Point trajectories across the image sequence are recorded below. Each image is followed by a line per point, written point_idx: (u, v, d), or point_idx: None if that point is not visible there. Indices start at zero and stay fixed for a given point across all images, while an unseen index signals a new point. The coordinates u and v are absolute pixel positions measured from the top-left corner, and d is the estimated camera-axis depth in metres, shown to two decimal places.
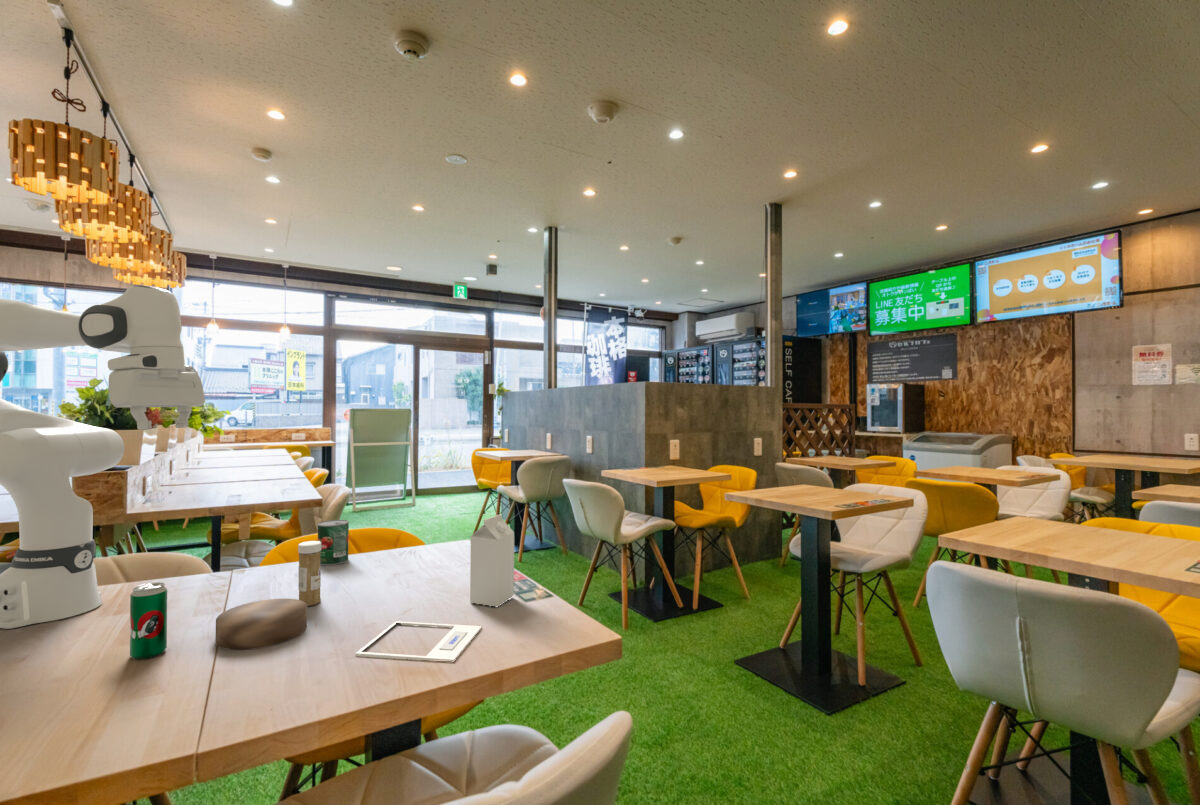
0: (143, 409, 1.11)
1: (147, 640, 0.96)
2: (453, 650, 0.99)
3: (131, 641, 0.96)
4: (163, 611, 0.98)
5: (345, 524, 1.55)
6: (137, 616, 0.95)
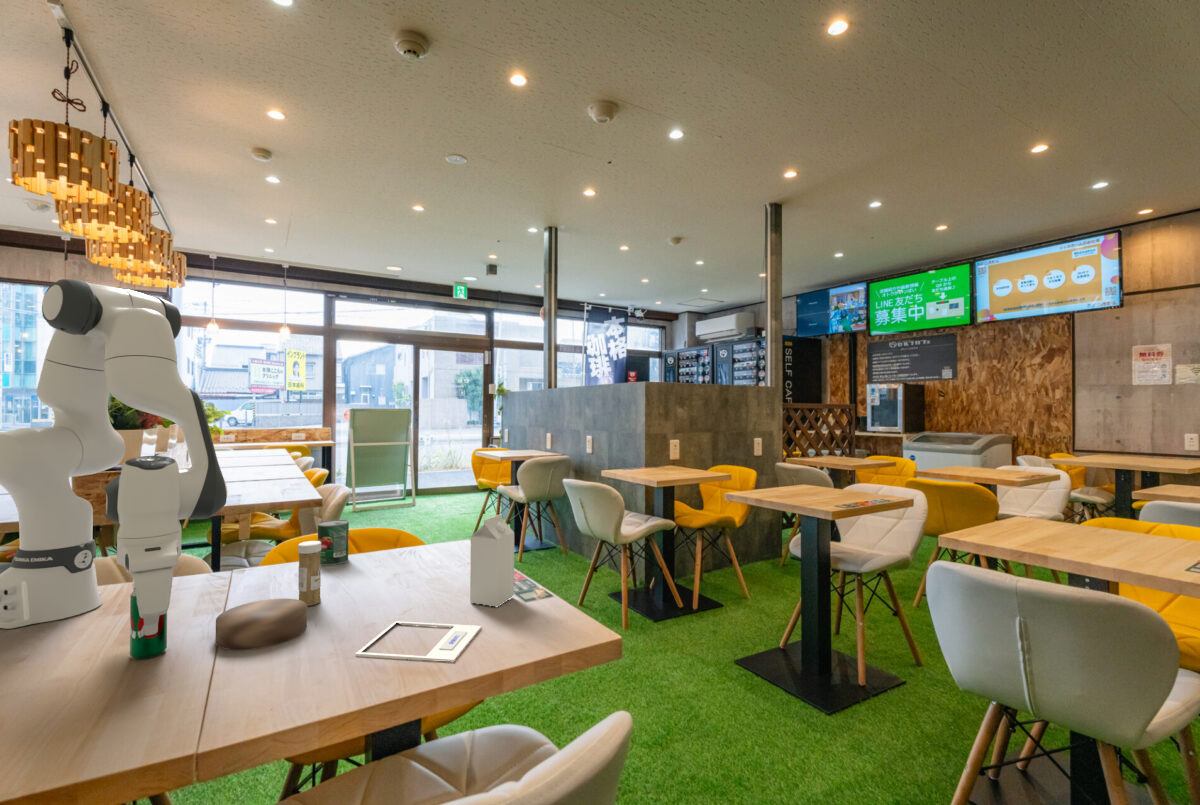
0: None
1: (147, 640, 0.96)
2: (453, 650, 0.99)
3: (131, 641, 0.96)
4: None
5: (345, 524, 1.55)
6: (137, 616, 0.95)
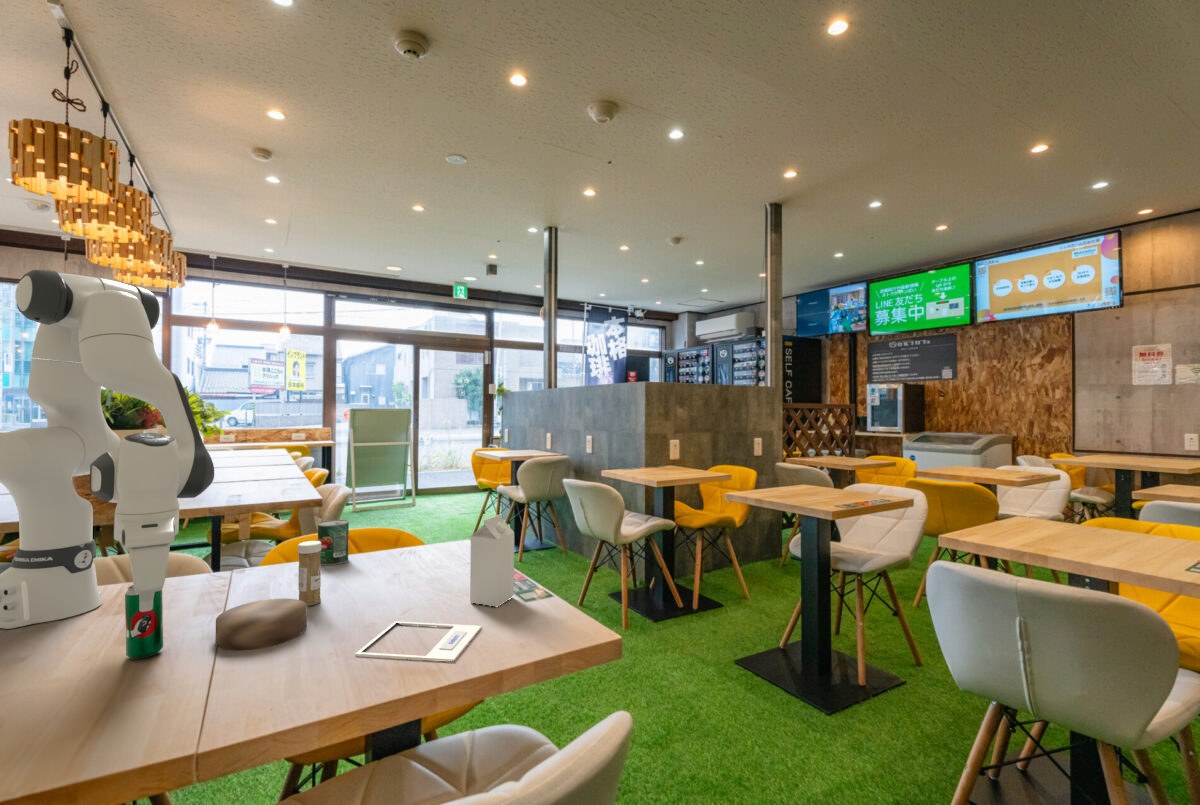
0: None
1: (139, 640, 0.95)
2: (453, 650, 0.99)
3: (126, 640, 0.95)
4: (156, 611, 0.97)
5: (345, 524, 1.55)
6: (130, 615, 0.95)
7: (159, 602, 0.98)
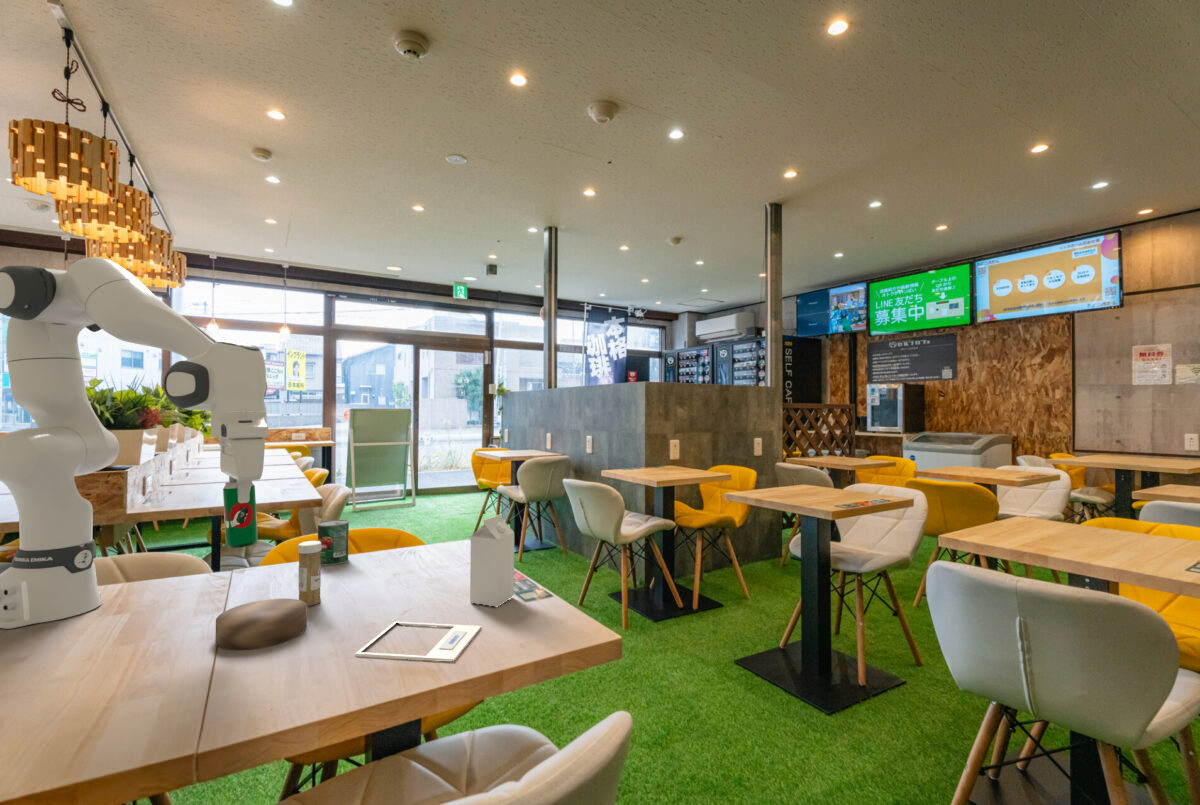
0: (250, 480, 1.03)
1: (238, 529, 1.02)
2: (453, 650, 0.99)
3: (226, 531, 1.03)
4: (251, 504, 1.04)
5: (345, 524, 1.55)
6: (229, 507, 1.02)
7: (253, 497, 1.05)
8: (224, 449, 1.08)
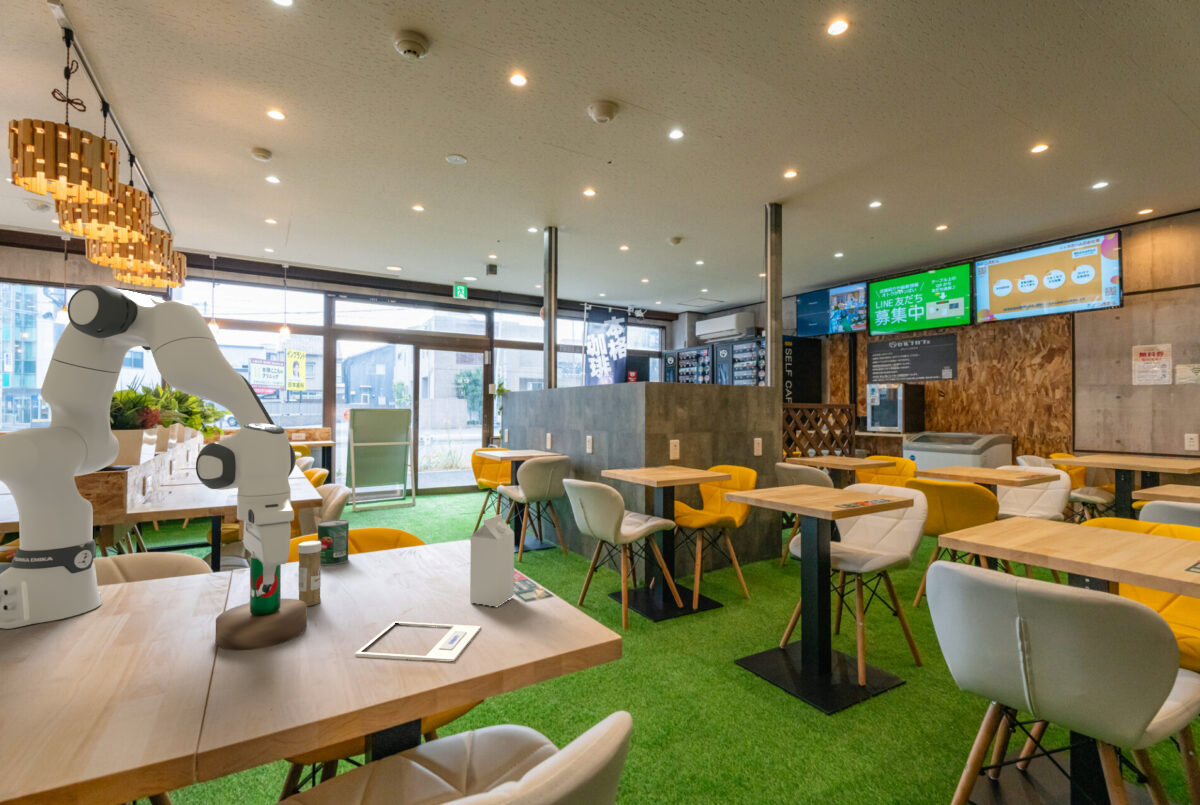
0: None
1: (263, 599, 1.05)
2: (453, 650, 0.99)
3: (251, 599, 1.05)
4: (277, 573, 1.07)
5: (345, 524, 1.55)
6: (256, 576, 1.05)
7: (279, 566, 1.07)
8: None
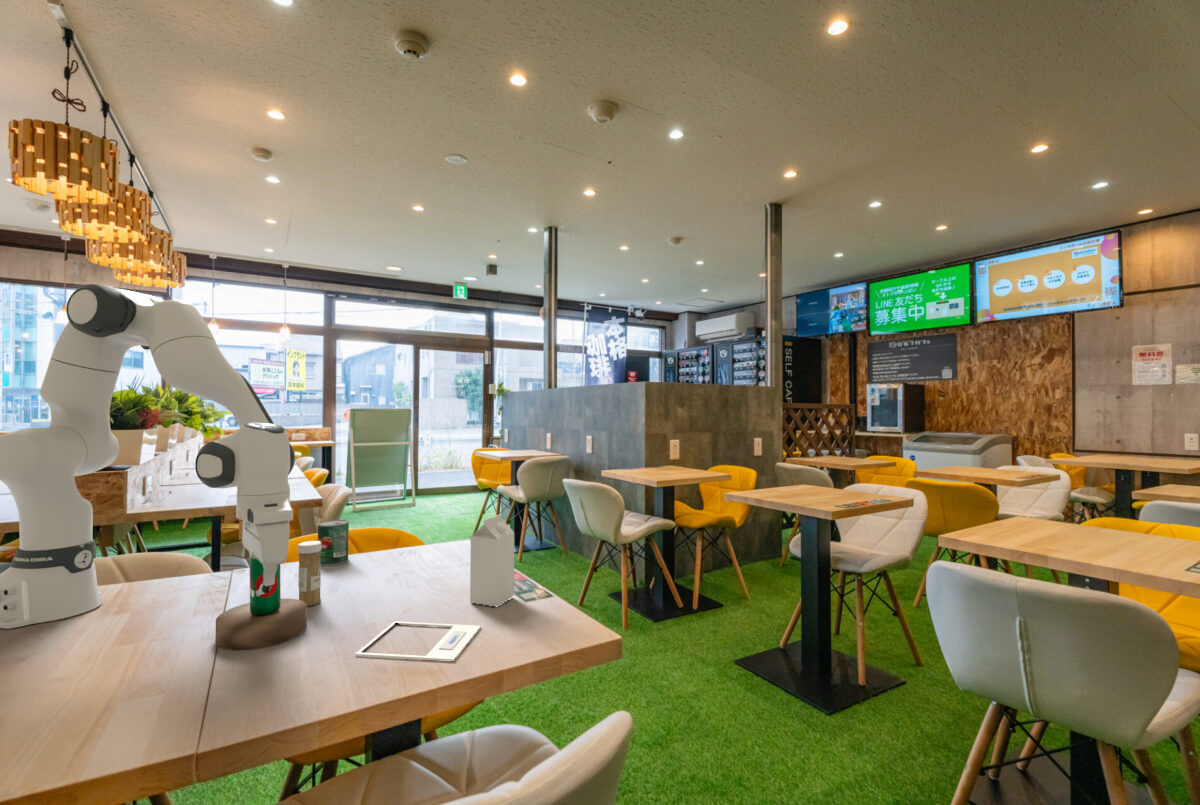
0: None
1: (263, 599, 1.05)
2: (453, 650, 0.99)
3: (251, 599, 1.05)
4: (276, 573, 1.07)
5: (345, 524, 1.55)
6: (255, 577, 1.05)
7: (278, 566, 1.07)
8: None
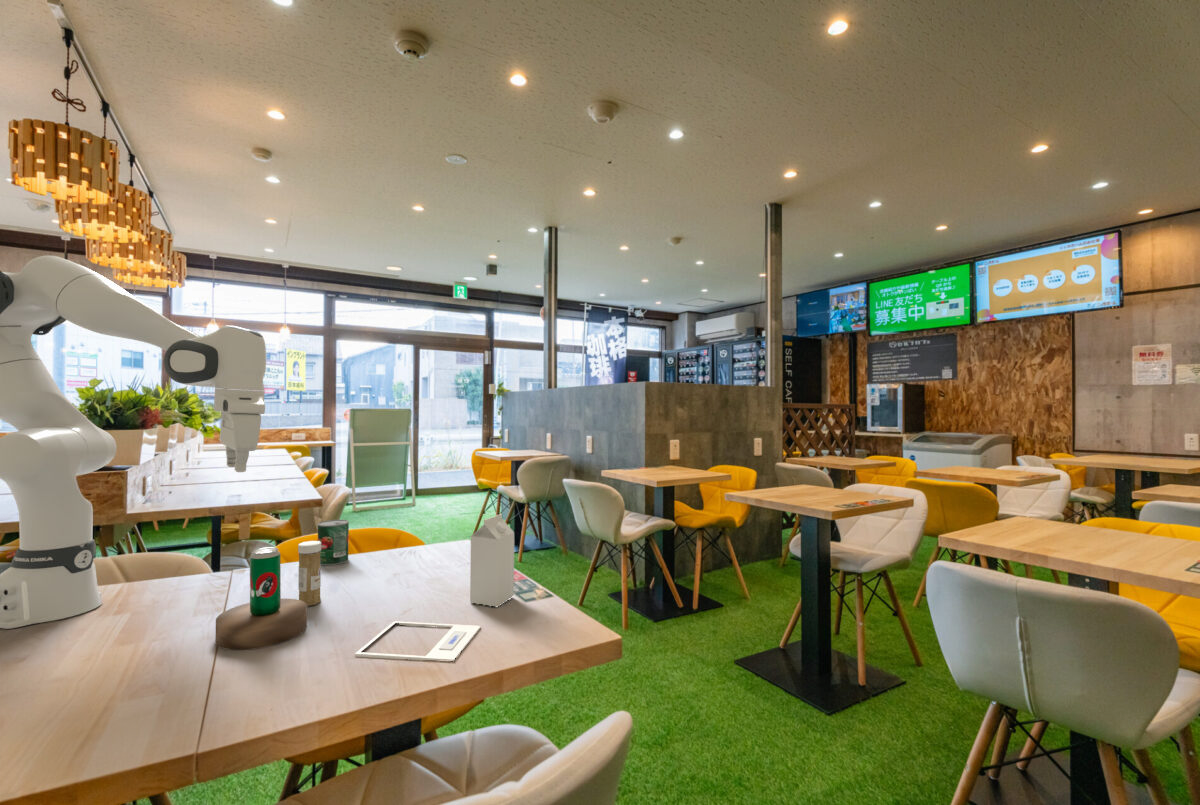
0: None
1: (263, 599, 1.05)
2: (453, 650, 0.99)
3: (251, 599, 1.05)
4: (276, 574, 1.07)
5: (345, 524, 1.55)
6: (255, 577, 1.05)
7: (279, 566, 1.07)
8: (224, 423, 1.21)
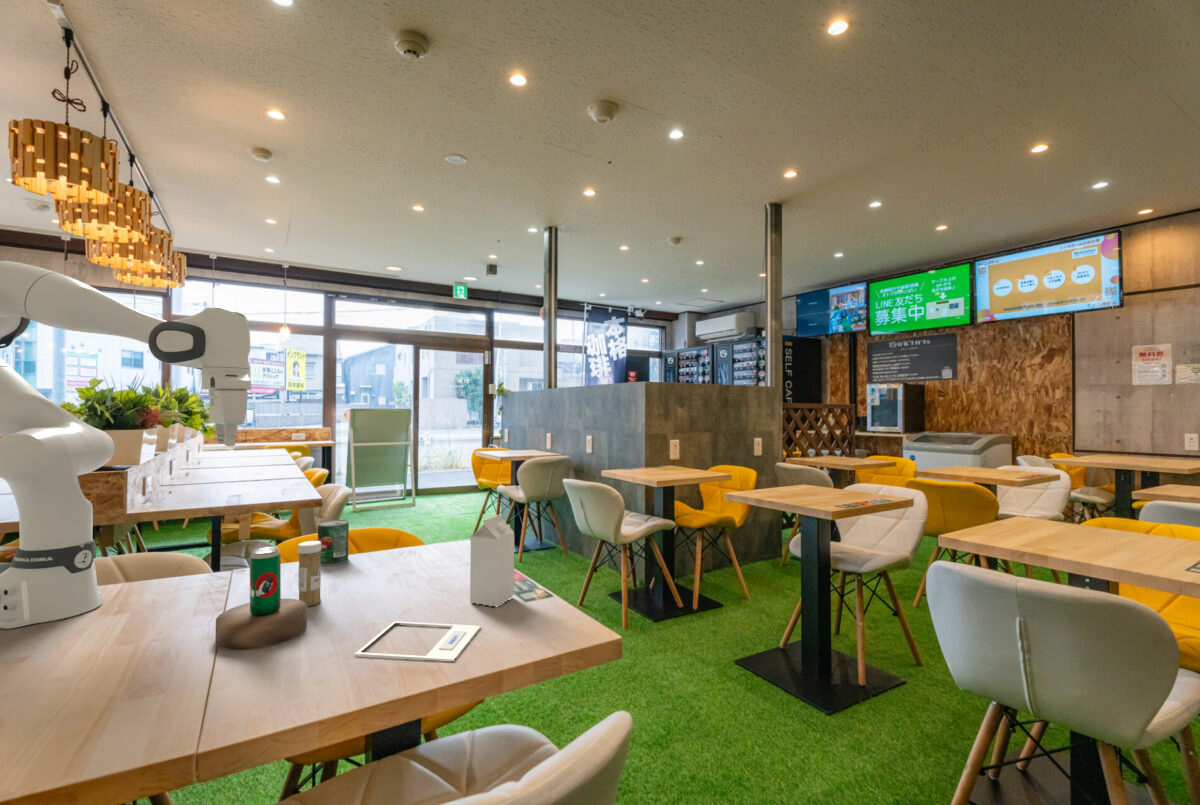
0: (236, 427, 1.19)
1: (263, 599, 1.05)
2: (453, 650, 0.99)
3: (251, 599, 1.05)
4: (276, 574, 1.07)
5: (345, 524, 1.55)
6: (255, 577, 1.05)
7: (279, 566, 1.07)
8: (213, 402, 1.26)
